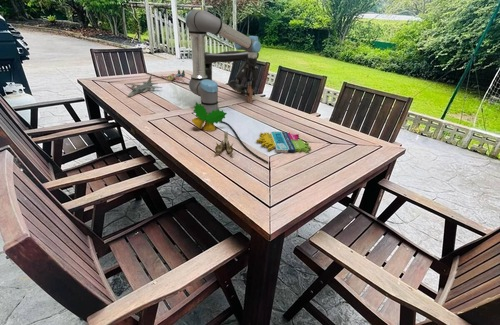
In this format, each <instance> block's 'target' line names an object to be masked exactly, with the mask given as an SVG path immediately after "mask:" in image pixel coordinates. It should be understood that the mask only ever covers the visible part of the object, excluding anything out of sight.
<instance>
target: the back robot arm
mask: <svg viewBox="0 0 500 325" xmlns="http://www.w3.org/2000/svg"><path fill="white" fill-rule="evenodd" d="M259 57H260V54H259V52H258V53H257V60H258V59H259ZM247 59H248V51H245V50H225V51H222V52H216V53H211V52H208V51H205V74H206V75H207V76H208V80H213V64H215V63H236V62H240V61H244V63H243V64H242V66H241V67H240V69H239V70H238V72H237V73H236V75H235V79H236V80H237V81H236V80H234V79H232V80H230V81H229V82H228V86H229V87H230V89H232V90H234V91H235V92H237V93H238V94H239V95H242V96H246V97H247V96H249V93H247V91H248V87H247V85H244V84H242V82H243V80H244V78H246V77H245V65H248V62H247ZM146 74H147V75H150V76H151V75H152V76H153V77H155V78H160V79H162V80H166V79H167V78H164V77H163V78H161V76H158V75H156V74H152V73H149V72H146ZM170 82H175V83H179V84H182V85H183V84H184V85H187V86H189V83H186V82H182V81H178V80H175V79H172V80H171V81H170ZM255 96H256V92H255V90H254V89H253V97H255Z"/></svg>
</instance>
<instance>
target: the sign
mask: <svg viewBox="0 0 500 325" xmlns="http://www.w3.org/2000/svg"><path fill="white" fill-rule="evenodd" d="M299 136H300V135H299V134H298V133H296V134H294V133H291V132H287V131H270V132H264V133H263V132H260V133H259V139H258V138H257V139H256V143H257V144H261V148H263V147H264V148H265V149H267V151H268V152H271V151H272V150H273V149H275V152H276V153H283V154H285V153H287V154H288V153H290V154H293V153H296V152H298V153H301V152H305V153H310V151H311V150H312V149H311V148H312V146H309V142H304V141H303V139H302V138H299Z"/></svg>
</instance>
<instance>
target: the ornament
mask: <svg viewBox="0 0 500 325" xmlns="http://www.w3.org/2000/svg"><path fill="white" fill-rule="evenodd" d="M219 110H220V108H219V109H217V110H216V111H214V110H212V112H211V113H208V112H206V109H204V106H201V103H198V102H195V105H194V106H193V112H194V113H195V118H192V119H191V122H192V123H193V125H195V127H197V128H198V129H202V130H203V131H206V132H212V131H213V132H214V131H215V130H216V126H215V124H218V123H222V121H223V119H226V115H227V114H228V113H227V112H224V110H223V109H221V110H220V111H219ZM207 113H208V115H207ZM219 121H221V122H219ZM214 123H215V124H214Z"/></svg>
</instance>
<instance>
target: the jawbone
mask: <svg viewBox="0 0 500 325" xmlns="http://www.w3.org/2000/svg"><path fill="white" fill-rule="evenodd" d="M223 135H224V136H223V140H222V139H221V142H220V144H218V142H215V144H216V146H215V148H214V149H215V152H214V154H215V155H217V156H218V155H220V153H221V152H223V151H224V150H226V152H227V153H228V155H229V156H233V155H234V154H233V153H234V148H233V144H234V143H230V140H228V139H229V138H228V137H229V136H228V135H229V133H228V131H226V132H224V134H223Z"/></svg>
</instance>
